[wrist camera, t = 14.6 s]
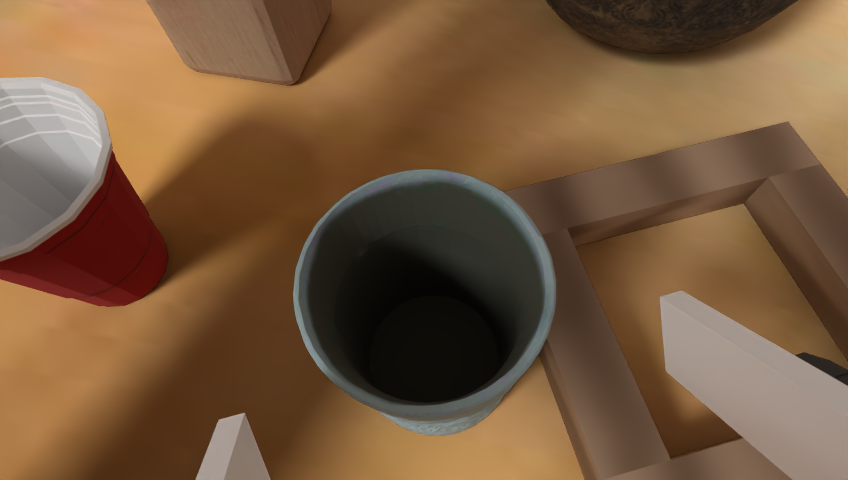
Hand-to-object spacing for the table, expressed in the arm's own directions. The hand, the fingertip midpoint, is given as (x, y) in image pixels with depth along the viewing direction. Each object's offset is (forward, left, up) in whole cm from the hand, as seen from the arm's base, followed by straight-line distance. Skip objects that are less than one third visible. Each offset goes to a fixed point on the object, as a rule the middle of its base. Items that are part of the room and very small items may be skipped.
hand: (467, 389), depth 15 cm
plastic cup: (-18, +16, -14) cm, 28 cm away
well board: (+16, +3, -14) cm, 21 cm away
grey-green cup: (0, +5, -14) cm, 15 cm away
